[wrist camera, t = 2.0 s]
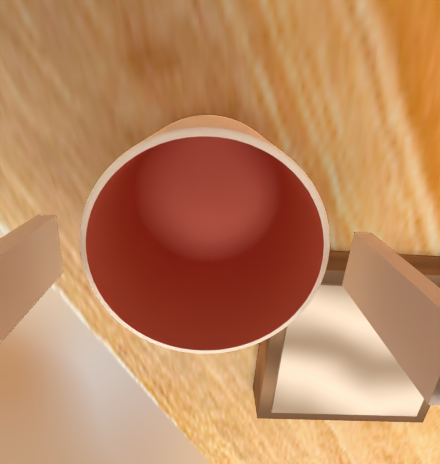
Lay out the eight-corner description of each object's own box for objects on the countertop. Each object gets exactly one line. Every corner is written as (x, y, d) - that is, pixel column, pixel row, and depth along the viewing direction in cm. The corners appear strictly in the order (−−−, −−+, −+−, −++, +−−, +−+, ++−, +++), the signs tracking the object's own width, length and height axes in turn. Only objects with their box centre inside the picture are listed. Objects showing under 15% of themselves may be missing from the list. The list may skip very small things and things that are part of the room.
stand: (273, 248, 24) (282, 269, 21) (455, 257, 25) (489, 279, 22) (252, 387, 29) (257, 420, 26) (403, 392, 30) (424, 425, 27)
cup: (256, 269, 25) (283, 372, 15) (124, 239, 23) (67, 332, 14) (302, 137, 21) (373, 168, 12) (148, 94, 20) (92, 91, 10)
